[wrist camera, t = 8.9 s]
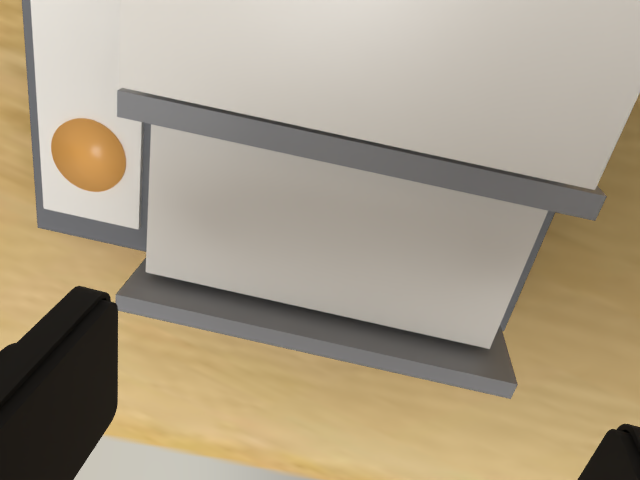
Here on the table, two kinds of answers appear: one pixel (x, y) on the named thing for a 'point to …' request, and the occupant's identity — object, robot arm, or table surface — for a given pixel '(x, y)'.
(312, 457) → the table surface
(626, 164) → the table surface
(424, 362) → the switch console
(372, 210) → the button
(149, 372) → the table surface
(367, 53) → the white rectangular block
